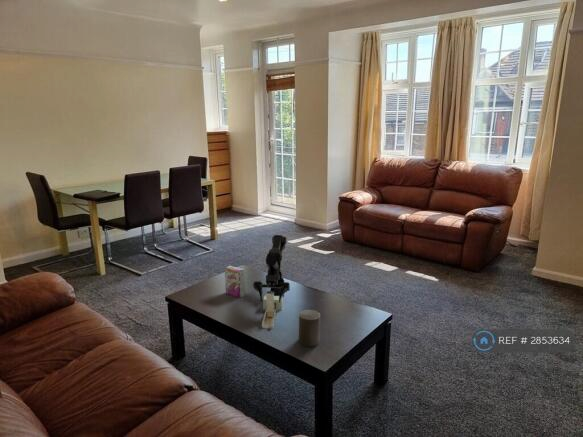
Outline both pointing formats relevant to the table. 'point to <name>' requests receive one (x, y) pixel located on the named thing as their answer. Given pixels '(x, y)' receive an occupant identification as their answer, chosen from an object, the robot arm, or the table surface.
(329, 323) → the table surface
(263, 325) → the u-shaped channel
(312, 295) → the table surface
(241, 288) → the candy bar box
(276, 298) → the socket block
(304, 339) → the pillar candle
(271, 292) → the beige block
